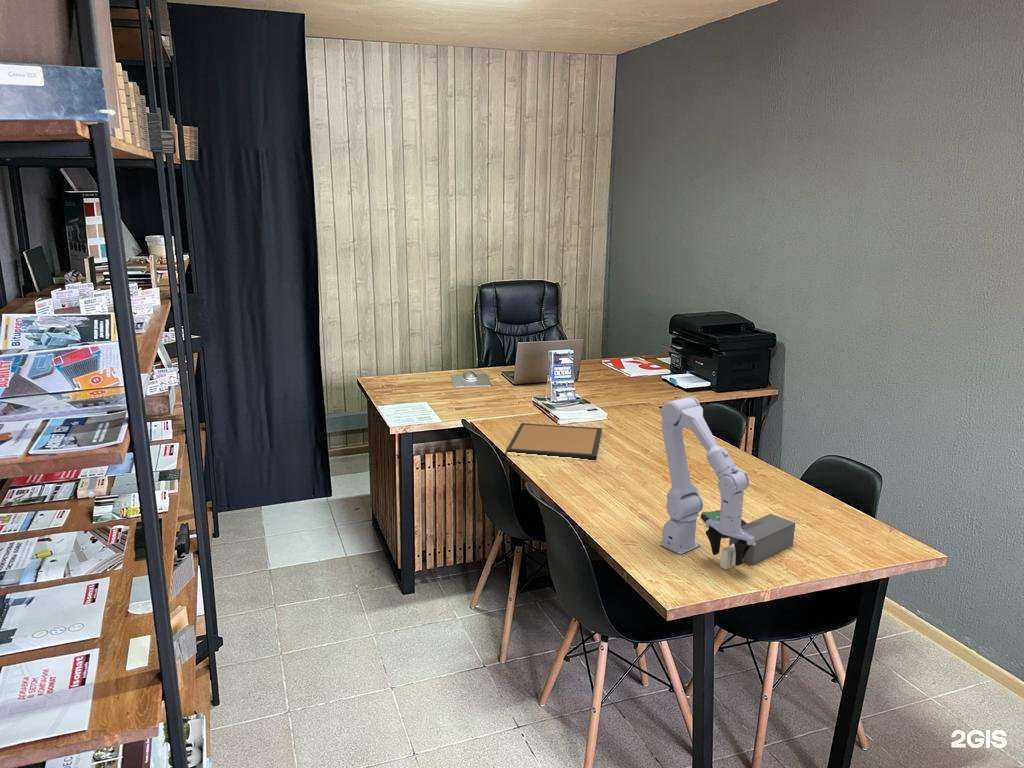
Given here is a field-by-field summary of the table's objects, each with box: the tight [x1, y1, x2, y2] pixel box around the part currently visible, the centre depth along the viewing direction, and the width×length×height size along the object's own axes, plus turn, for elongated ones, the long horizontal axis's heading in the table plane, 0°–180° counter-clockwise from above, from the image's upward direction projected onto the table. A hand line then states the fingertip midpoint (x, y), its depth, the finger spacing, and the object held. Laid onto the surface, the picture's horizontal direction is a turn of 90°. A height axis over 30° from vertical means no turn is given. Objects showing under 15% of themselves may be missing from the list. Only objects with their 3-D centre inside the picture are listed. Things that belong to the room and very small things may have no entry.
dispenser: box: [728, 513, 796, 566], centre depth 217 cm, size 21×9×7 cm, turn 128°
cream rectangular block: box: [719, 544, 746, 570], centre depth 212 cm, size 16×2×6 cm, turn 128°
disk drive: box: [700, 509, 748, 539], centre depth 233 cm, size 10×3×15 cm
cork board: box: [505, 422, 603, 461], centre depth 308 cm, size 36×3×35 cm
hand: (727, 559), depth 208 cm, fingers open, 7 cm apart
